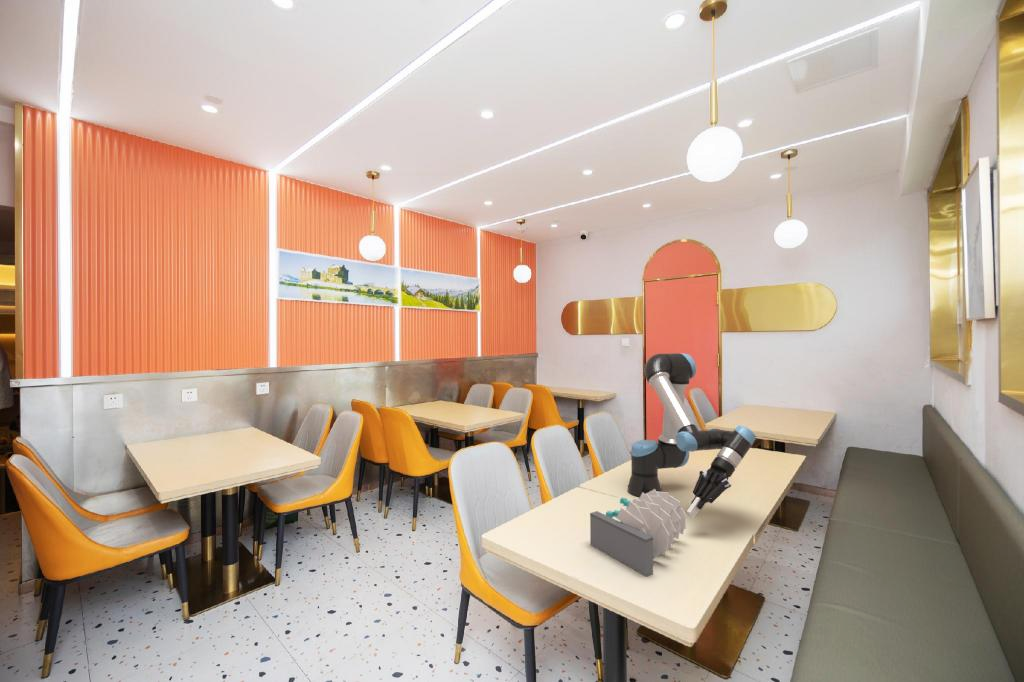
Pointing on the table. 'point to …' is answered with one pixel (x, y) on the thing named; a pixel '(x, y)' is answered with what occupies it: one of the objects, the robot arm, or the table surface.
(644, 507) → the spiral staircase
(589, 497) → the table surface
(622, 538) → the slate board
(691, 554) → the table surface
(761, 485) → the table surface
